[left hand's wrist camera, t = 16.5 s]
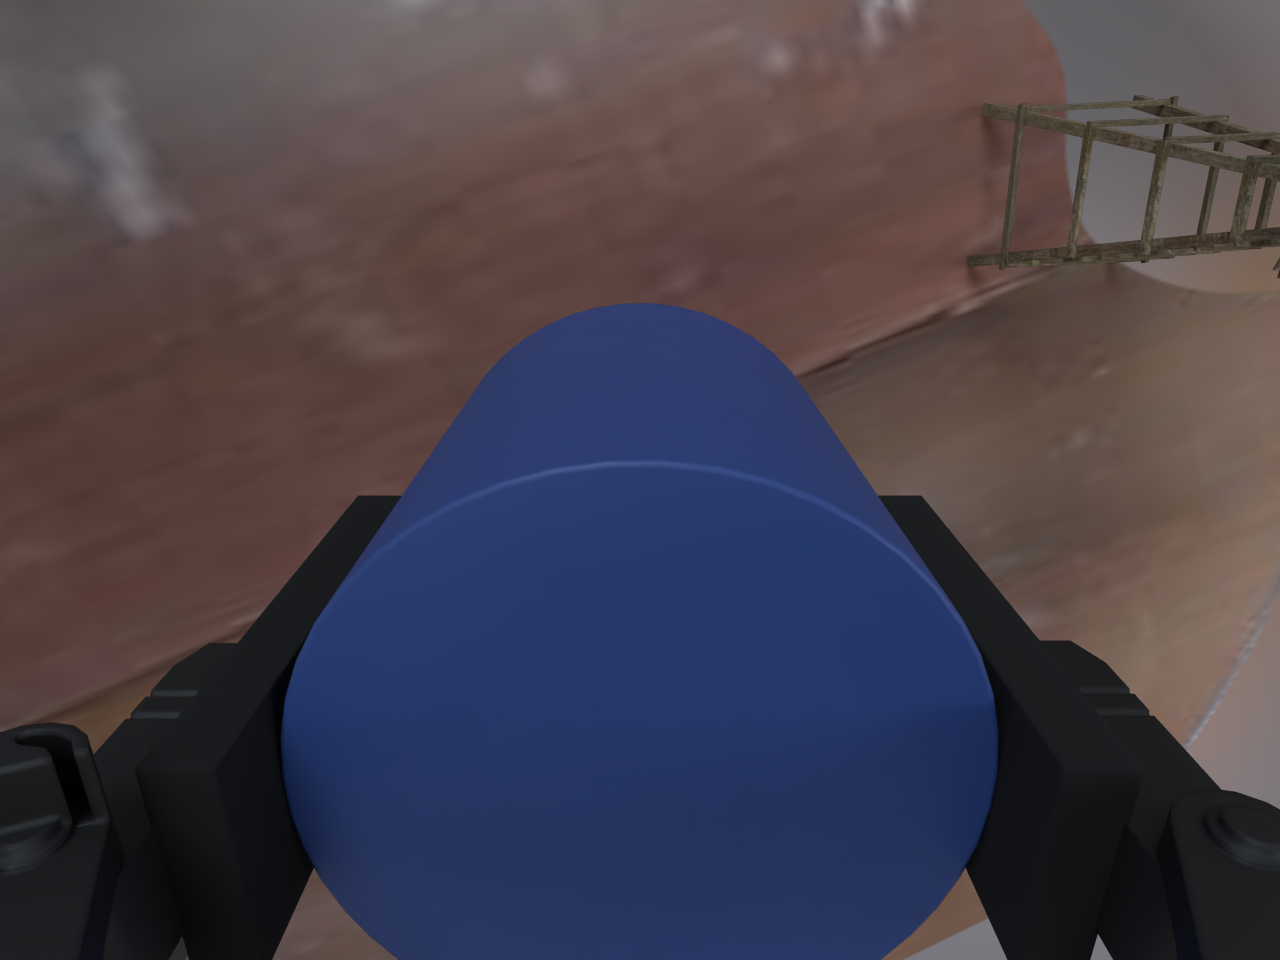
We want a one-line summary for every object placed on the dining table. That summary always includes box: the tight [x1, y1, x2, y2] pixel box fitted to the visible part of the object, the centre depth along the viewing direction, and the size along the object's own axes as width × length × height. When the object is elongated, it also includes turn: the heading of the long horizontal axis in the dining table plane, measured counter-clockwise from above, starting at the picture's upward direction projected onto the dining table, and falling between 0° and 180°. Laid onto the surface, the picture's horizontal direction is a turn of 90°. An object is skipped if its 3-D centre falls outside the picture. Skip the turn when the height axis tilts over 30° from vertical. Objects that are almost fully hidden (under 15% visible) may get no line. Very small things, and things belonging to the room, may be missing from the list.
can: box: [280, 303, 999, 960], centre depth 13 cm, size 8×8×8 cm
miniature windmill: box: [968, 95, 1280, 278], centre depth 30 cm, size 9×8×30 cm
